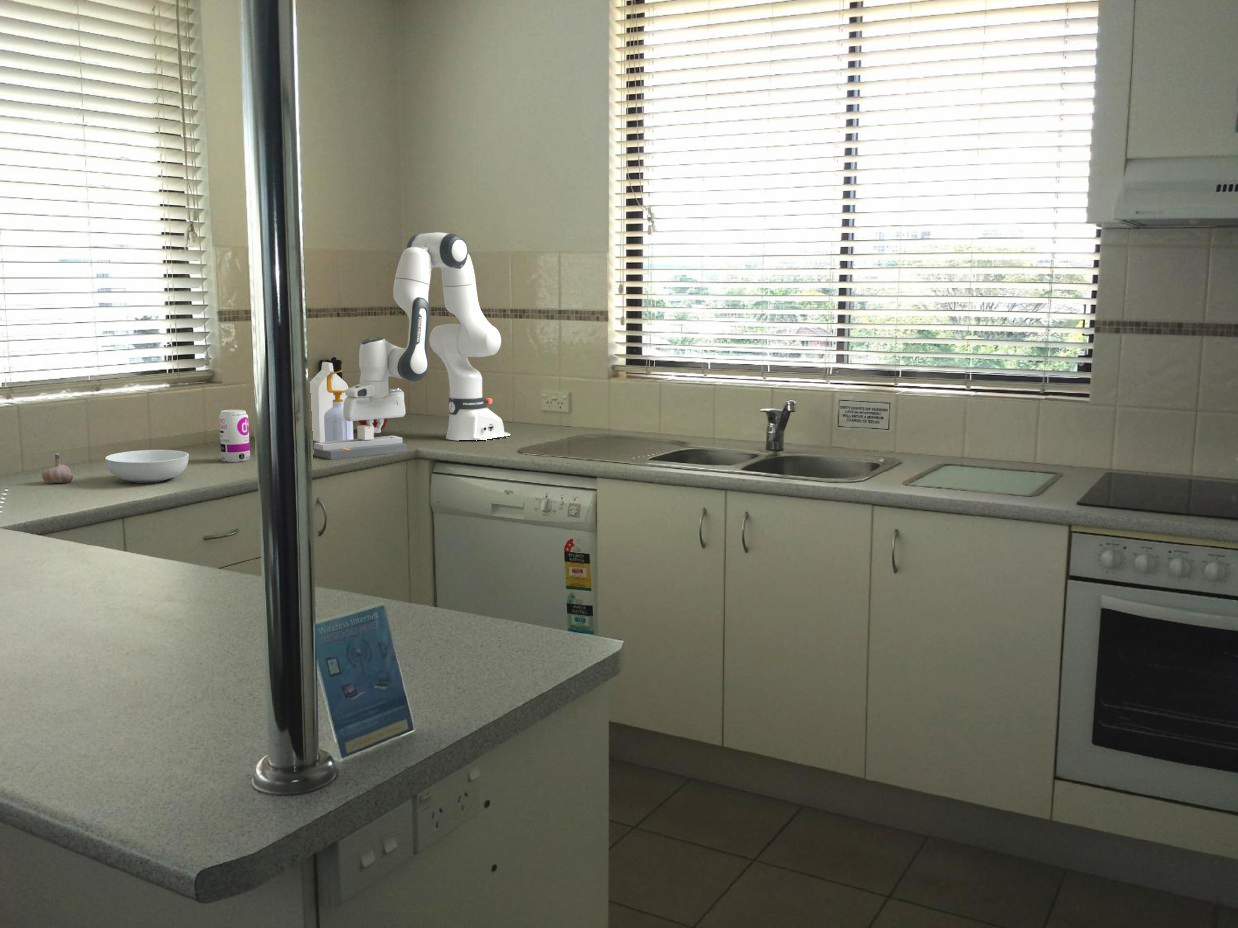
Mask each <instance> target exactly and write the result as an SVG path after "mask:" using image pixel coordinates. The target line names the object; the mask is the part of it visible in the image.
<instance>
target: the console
mask: <svg viewBox="0 0 1238 928" xmlns="http://www.w3.org/2000/svg"><path fill="white" fill-rule="evenodd" d="M403 441H404V440H403V437H401V436H397V435H388V436H376V437H375V436H374V439H371V440H365V441H361V439H358V438H353V439H352V440H341V441H331V442H314V443H313V445H312V446H313V450H314V455H313V456H315V457H319V458H323V459H328V460H339V459H340V460H341V459H343V460H344V459H351V458H359V457H371V456H380V455H388V454H389V455H390V454H399V453H407V452H408V444H407V443H403Z"/></svg>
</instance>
